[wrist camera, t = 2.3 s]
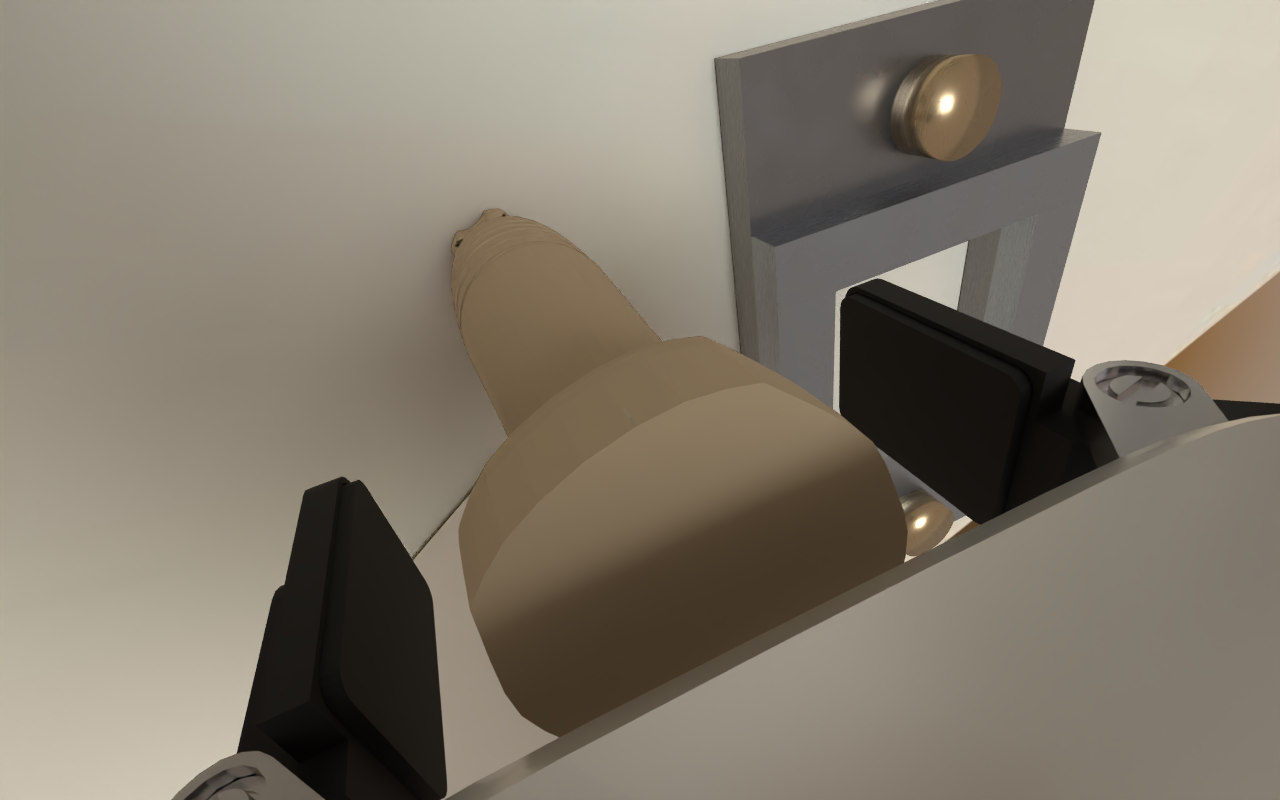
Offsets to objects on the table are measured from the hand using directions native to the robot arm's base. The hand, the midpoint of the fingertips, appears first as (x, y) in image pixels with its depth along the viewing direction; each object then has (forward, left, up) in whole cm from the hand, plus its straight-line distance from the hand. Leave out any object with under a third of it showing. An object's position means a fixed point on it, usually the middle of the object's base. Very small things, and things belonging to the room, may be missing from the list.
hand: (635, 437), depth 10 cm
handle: (-1, 0, -11) cm, 11 cm away
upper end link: (+11, +16, -11) cm, 22 cm away
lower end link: (+6, +16, -11) cm, 20 cm away
